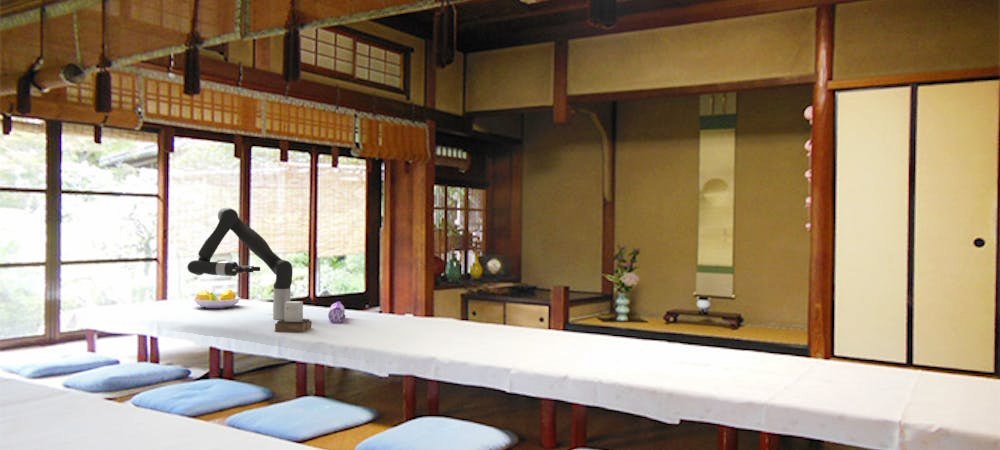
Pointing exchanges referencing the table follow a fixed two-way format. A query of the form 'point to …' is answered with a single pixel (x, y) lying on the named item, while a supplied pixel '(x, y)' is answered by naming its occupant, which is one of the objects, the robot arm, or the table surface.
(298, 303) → the small box
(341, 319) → the pencil case
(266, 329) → the table surface
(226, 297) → the fruit bowl
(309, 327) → the brown wooden tray
